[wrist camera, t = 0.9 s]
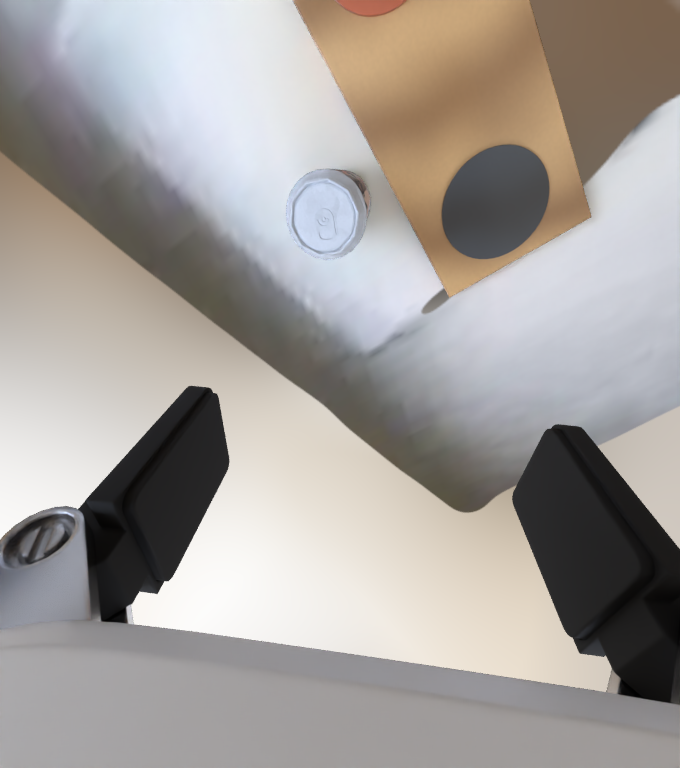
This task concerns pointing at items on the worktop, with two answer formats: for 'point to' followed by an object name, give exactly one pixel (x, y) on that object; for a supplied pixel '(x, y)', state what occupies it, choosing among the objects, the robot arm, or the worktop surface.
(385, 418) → the worktop surface
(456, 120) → the board
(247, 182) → the worktop surface
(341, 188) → the beer can
